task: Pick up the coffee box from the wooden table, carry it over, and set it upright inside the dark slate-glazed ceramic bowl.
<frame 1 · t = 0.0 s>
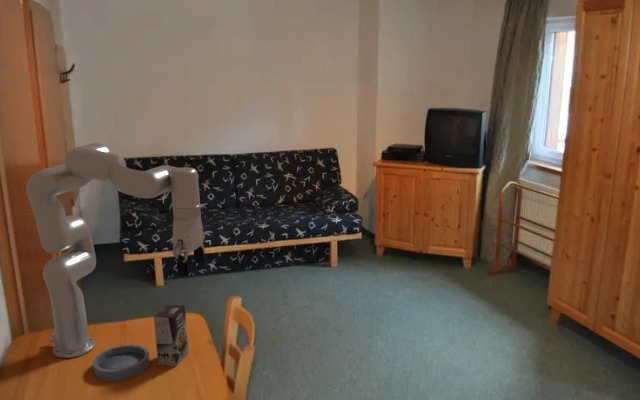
hand: (191, 268, 164), 31 cm above the table, tool pointing down, fingers open, 9 cm apart
bowl: (122, 366, 172), on the table
coffee box: (174, 358, 176), on the table
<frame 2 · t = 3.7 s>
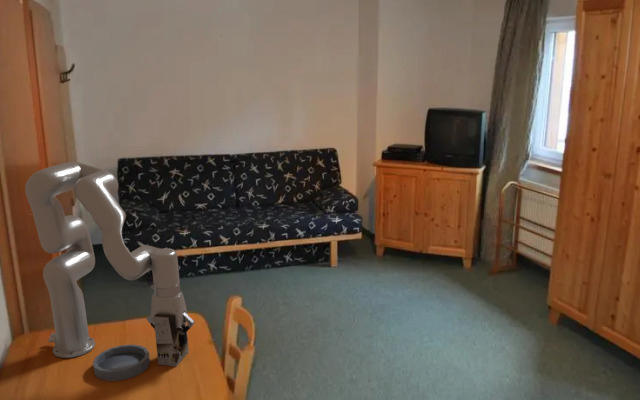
hand: (172, 343, 175), 5 cm above the table, tool pointing down, fingers closed on coffee box, 6 cm apart
coffee box: (174, 358, 176), on the table, touching gripper
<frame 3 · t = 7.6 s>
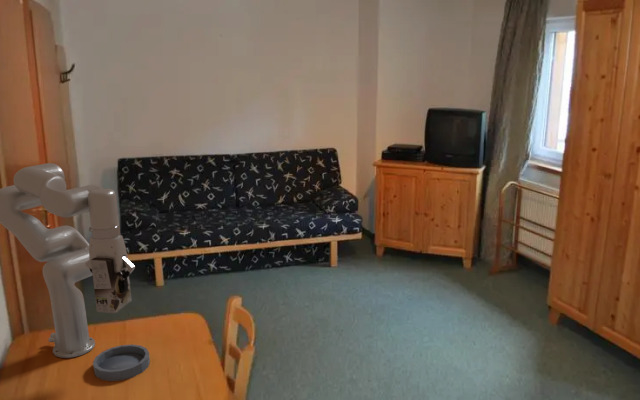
hand: (113, 289, 166), 25 cm above the table, tool pointing down, fingers closed on coffee box, 6 cm apart
coffee box: (114, 306, 167), point 20 cm above the table, touching gripper
when the fingers open (7 cm above the table, at t = 11.7 s): coffee box drops 1 cm, resting on bowl.
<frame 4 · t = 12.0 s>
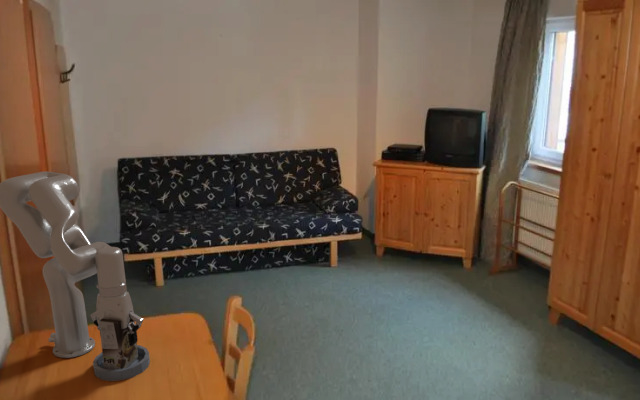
hand: (119, 342, 170), 8 cm above the table, tool pointing down, fingers open, 9 cm apart
coffee box: (121, 364, 172), point 1 cm above the table, touching bowl
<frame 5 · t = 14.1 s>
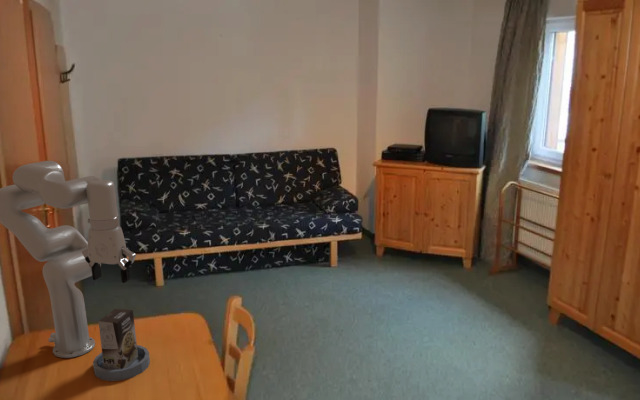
hand: (111, 279, 165), 28 cm above the table, tool pointing down, fingers open, 9 cm apart
nothing on the table moved.
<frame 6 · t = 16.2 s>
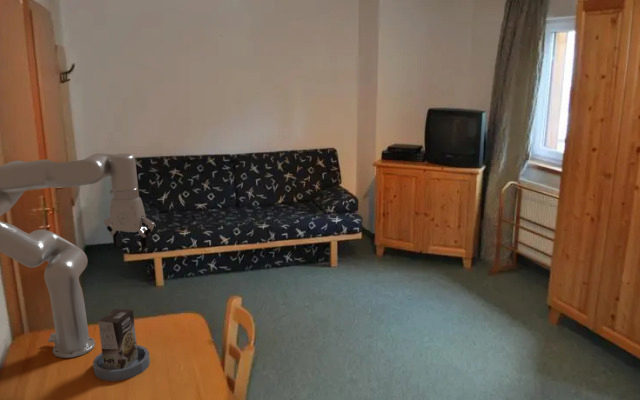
hand: (131, 247, 178), 33 cm above the table, tool pointing down, fingers open, 9 cm apart
nothing on the table moved.
at the end: coffee box inside the target area on the bowl (0.1 cm from its centre), point 0.6 cm above the bowl's base; coffee box tilted 0°; the gripper is holding nothing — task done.
